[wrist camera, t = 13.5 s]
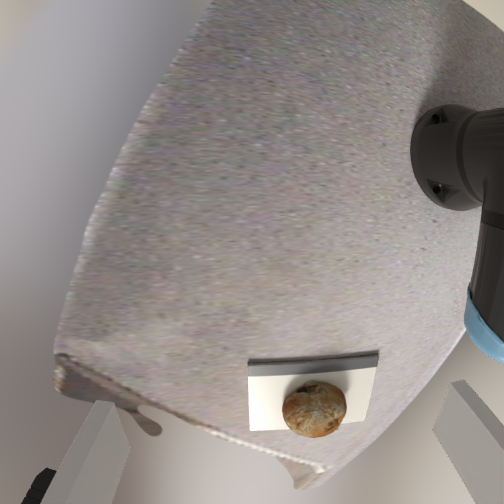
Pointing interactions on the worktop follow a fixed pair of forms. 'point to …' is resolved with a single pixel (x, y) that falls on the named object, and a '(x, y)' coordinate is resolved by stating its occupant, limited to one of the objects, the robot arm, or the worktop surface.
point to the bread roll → (314, 409)
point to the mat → (299, 372)
